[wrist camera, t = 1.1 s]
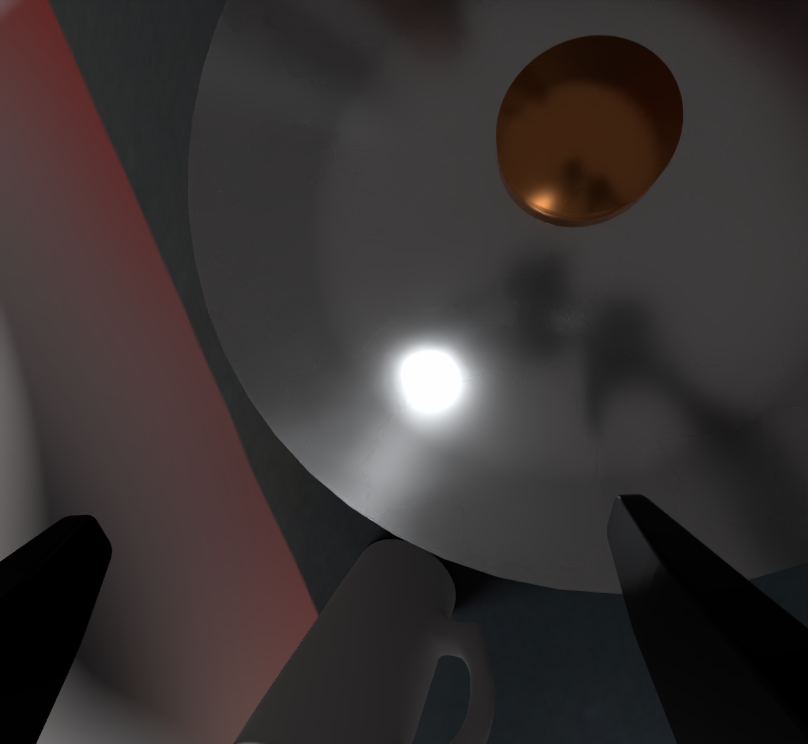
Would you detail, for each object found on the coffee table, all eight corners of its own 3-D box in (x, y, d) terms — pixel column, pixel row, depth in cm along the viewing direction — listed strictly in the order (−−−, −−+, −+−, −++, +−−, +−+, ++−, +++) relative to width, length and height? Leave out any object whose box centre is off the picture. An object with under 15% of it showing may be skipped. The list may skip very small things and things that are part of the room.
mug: (370, 618, 31) (254, 839, 20) (343, 531, 29) (200, 726, 19) (527, 638, 27) (481, 929, 16) (507, 539, 25) (442, 795, 14)
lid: (1329, -177, 7) (1603, -359, 6) (786, 728, 9) (858, 820, 7) (396, -329, 11) (373, -477, 9) (122, 362, 12) (54, 361, 10)
